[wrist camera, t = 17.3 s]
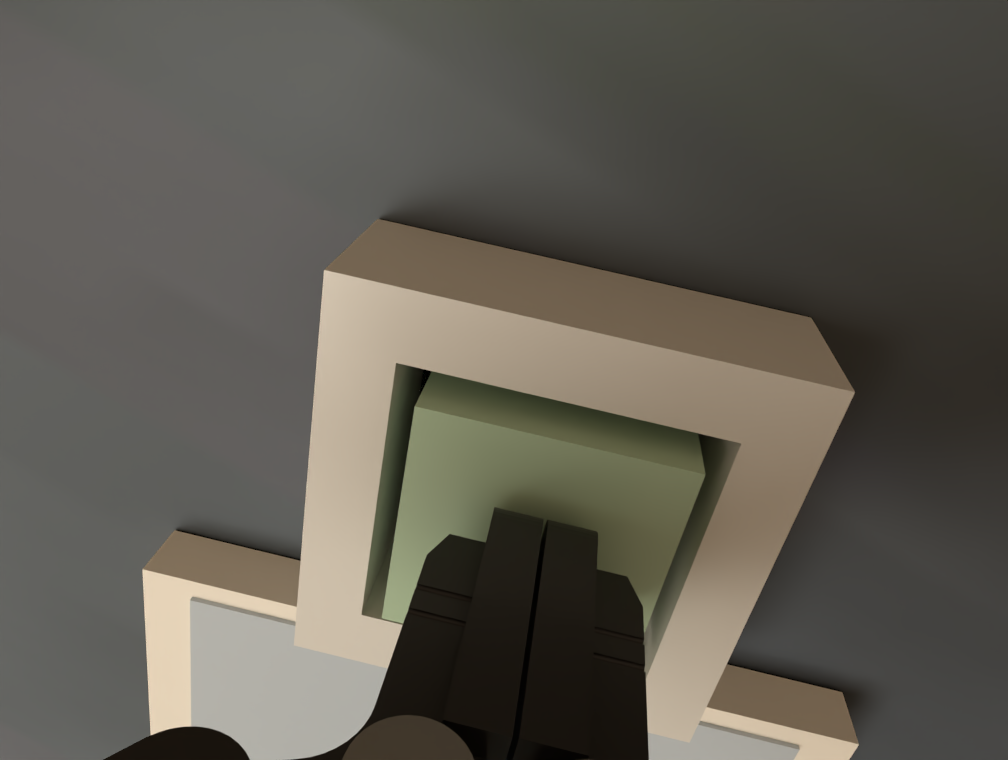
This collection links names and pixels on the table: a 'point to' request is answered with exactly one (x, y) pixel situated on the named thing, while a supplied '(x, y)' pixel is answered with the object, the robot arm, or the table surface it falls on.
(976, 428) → the table surface
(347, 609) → the button frame
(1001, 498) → the table surface
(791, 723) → the picture card
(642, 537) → the button
